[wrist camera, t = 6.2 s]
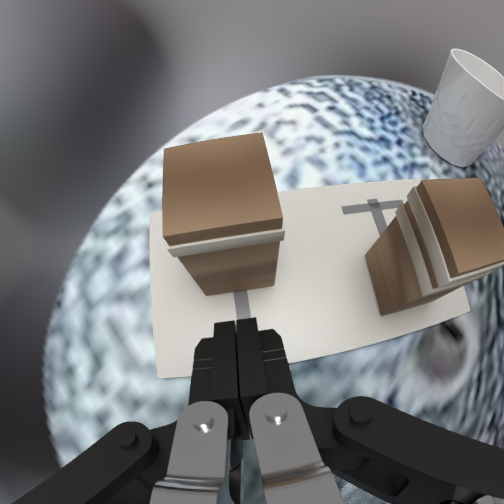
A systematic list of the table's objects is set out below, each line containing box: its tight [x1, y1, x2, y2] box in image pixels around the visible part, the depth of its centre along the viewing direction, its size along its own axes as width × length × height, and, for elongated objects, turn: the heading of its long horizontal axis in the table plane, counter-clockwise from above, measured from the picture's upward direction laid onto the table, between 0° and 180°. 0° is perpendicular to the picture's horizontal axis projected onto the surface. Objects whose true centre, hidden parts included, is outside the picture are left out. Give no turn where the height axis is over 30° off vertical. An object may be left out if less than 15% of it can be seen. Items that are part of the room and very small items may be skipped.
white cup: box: [423, 49, 504, 167], centre depth 19 cm, size 8×8×10 cm
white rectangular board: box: [150, 179, 470, 378], centre depth 18 cm, size 11×21×2 cm, turn 99°
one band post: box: [162, 133, 285, 296], centre depth 14 cm, size 4×4×8 cm
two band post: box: [365, 178, 504, 316], centre depth 13 cm, size 4×4×8 cm
